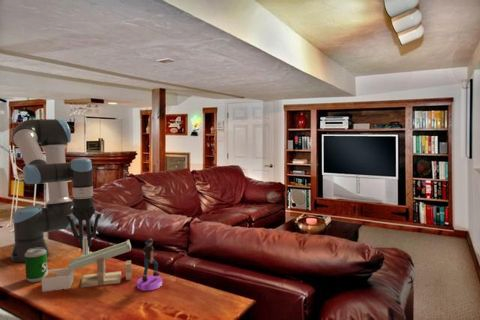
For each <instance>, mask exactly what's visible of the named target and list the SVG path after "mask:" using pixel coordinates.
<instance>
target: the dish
mask: <svg viewBox="0 0 480 320" xmlns="http://www.w3.org/2000/svg"><path fill="white" fill-rule="evenodd" d="M51 272H53V273H55V274H56V275H57V277H48V278H46V277H47V275H48V274H49V273H51ZM74 281H75V279H74V270H72V271H69V270H68V267H66V268H57V269H48V270H47V271H46V273H45V274H44V276H43V277H42V281H41V290H42V291H41V292H42V293H45V292H53V291H54V290H55V291H62V289H64V290H70V289H71V287H72V284H73V282H74ZM55 291H54V292H55Z"/></svg>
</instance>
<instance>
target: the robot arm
mask: <svg viewBox="0 0 480 320" xmlns="http://www.w3.org/2000/svg"><path fill="white" fill-rule="evenodd" d="M11 135H12V137H11V138H12V141H13V143H14V145H15V146H17V148H18V149H19V152H20V154H21V156H22V159H23V162H24V164H25V166H23V168H22V177H23V182H24V183H25V184H26V185H38V184H46V183H47V189H48V201H46V203H45V205H46V206H45V207H43V206H42V205H40V204H35V205H34V204H33V205H27V206H25V207H21V208H19V209H17V210H16V211H14V212H13V215H12V216H13V220H12V223H13V229H14V230H13V231H14V232H13V233H14V244H13V247H12V251H11V255H10V258H11V261H12V262H14V263H25V253H26V252H27V250H29V249H32V248H38V247H41V248H44V249H45V250H46V251H47V257H48V256H49V255H50V252H49V248H48V247H49V246H48V245H47V243H46V240H45V237H44V236H45V235H44V233H49V232H55V231H60V230H67V229H71V232H72V234H73V239H75V240H79V247H80V248H82V254H83V256H84V255H87V254H89V252H90V247H91V246H92V238H95V237H96V235H97V234H96V233H97V229H98V225H99V219H100V217H101V215H102V212H98V211H97V210H96V208H95V204H94V197H93V195H94V185H93V165H92V159H90V158H73V159H71V160H70V161H69V162H66V153H65V152H66V149H67V147H68V144H70V142H71V140H72V138H71V137H72V134H71V129H70V126H69V124H68V123H67V121H66V120H63V119H57V118H55V119H51V118H49V119H48V118H47V119H46V118H45V119H44V118H43V119H42V118H41V119H40V118H39V119H38V118H36V119H35V118H32V119H27V120H24V121H21V122H19V124H17V126H15V128H14V129H13V131H12V134H11ZM39 144H40V145H39ZM42 149H43V151H44V153H45V155H44V153H43V151H42ZM68 182H71V185H72V186H71V188H72V189H71V190H72V191H71V192H72V198H73V199H71V198H70V197H69V194H70V193H69V185H68ZM92 217H94V218H95V219H94V223H93V228H92V229H91V219H92ZM84 221H85V227H86V237H85V236H84ZM77 222H78V229H77V226H76V224H77Z"/></svg>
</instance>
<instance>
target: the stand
mask: <svg viewBox="0 0 480 320" xmlns="http://www.w3.org/2000/svg"><path fill="white" fill-rule="evenodd" d="M96 263H97V264H96V268H97V270H96V271H97V273H92V274H91V273H90V274H84V275H83V277H82V280H81V282H80V288H86V287H87V288H89V287H97V286H105V285H113V284H120V283H121V281H122V271H121V270H119V271H109V272H106V259H105V260H103V256H100V257H97V262H96ZM124 264H125V268H124V269H125V280H126V281H129V280H130V281H131V280H132V260H131V259H130V260H125V263H124Z"/></svg>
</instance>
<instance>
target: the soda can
mask: <svg viewBox="0 0 480 320" xmlns="http://www.w3.org/2000/svg"><path fill="white" fill-rule="evenodd" d="M24 266H25V279H26V281H28V282H29V283H38V282H42V277H43V276H44V274H45V273H46V271H47V270H49V269H48V256H47V251H46V250H45V249H44V248H41V247H38V248H32V249H29V250H27V252H26V253H25V262H24Z"/></svg>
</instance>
